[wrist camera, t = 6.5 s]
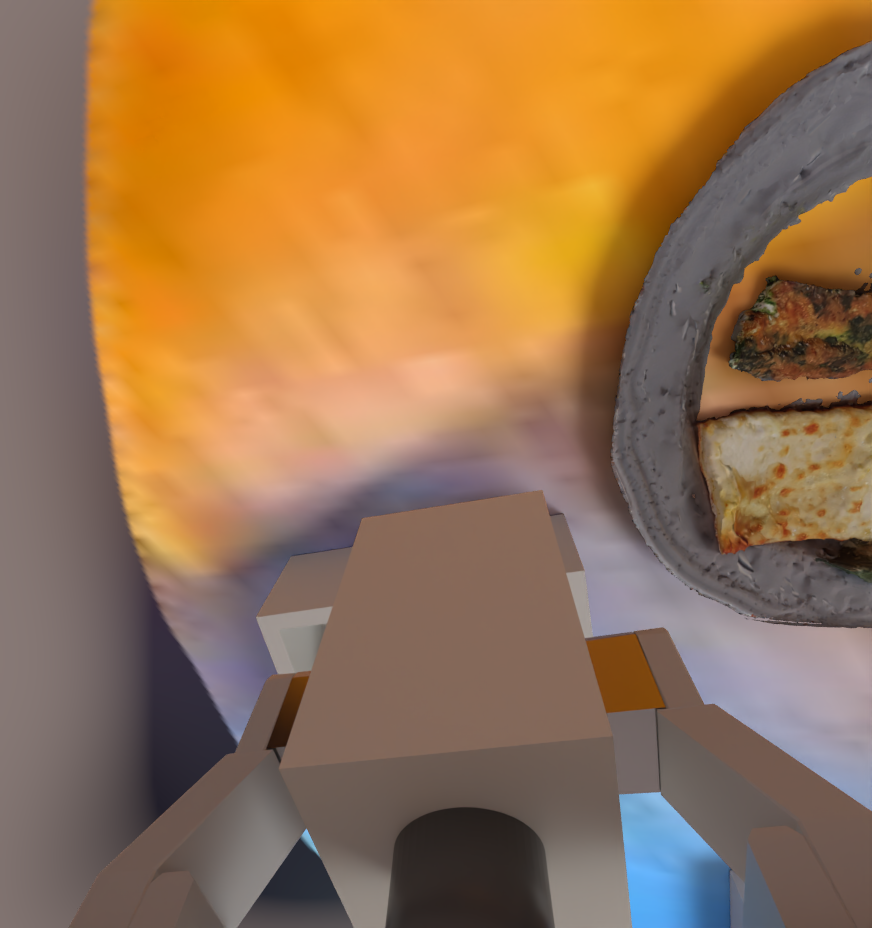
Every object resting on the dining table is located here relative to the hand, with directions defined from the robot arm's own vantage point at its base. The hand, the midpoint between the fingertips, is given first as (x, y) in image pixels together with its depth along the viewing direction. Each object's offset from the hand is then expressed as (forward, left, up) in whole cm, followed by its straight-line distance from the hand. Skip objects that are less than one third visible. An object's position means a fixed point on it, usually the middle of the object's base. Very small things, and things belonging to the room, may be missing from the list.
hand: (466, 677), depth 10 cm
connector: (0, 0, -3) cm, 3 cm away
